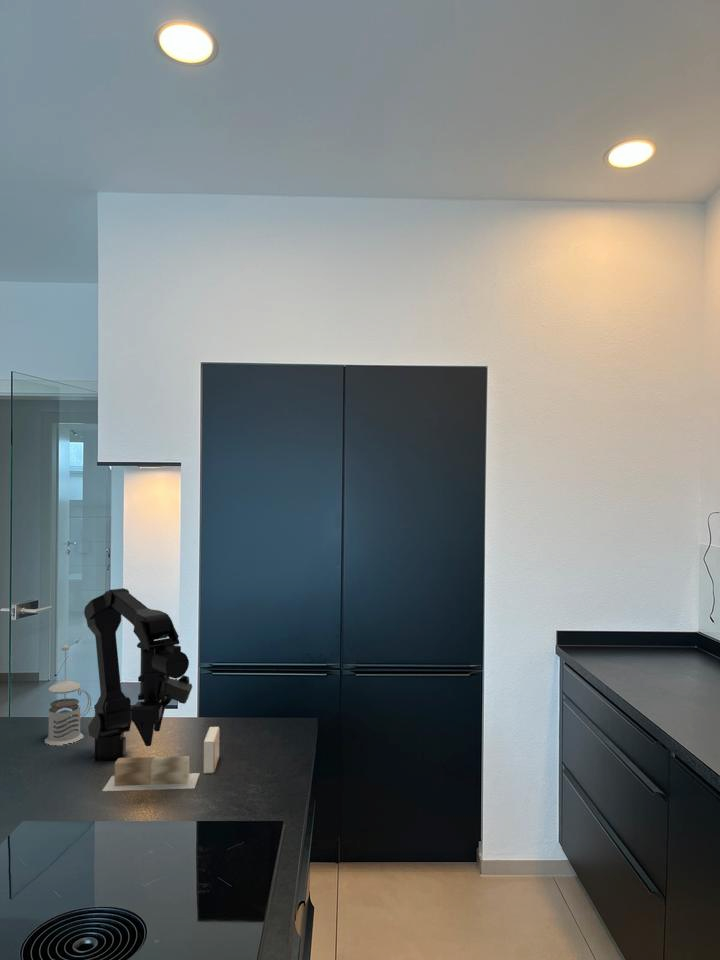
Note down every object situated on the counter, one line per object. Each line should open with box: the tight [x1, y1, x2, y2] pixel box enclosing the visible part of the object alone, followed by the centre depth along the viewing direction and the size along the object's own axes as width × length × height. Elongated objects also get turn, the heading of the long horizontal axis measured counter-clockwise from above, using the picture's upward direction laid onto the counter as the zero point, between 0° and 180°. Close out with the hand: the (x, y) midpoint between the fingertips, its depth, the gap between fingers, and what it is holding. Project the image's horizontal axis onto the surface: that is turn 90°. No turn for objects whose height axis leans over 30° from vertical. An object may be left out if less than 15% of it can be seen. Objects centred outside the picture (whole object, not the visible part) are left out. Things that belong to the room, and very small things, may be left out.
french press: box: [43, 644, 92, 746], centre depth 183 cm, size 10×12×25 cm
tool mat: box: [101, 772, 200, 792], centre depth 154 cm, size 20×8×1 cm, turn 95°
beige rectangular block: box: [114, 755, 190, 786], centre depth 154 cm, size 16×3×5 cm, turn 95°
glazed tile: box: [203, 726, 220, 774], centre depth 164 cm, size 2×10×8 cm, turn 5°
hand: (152, 738), depth 155 cm, fingers open, 9 cm apart
